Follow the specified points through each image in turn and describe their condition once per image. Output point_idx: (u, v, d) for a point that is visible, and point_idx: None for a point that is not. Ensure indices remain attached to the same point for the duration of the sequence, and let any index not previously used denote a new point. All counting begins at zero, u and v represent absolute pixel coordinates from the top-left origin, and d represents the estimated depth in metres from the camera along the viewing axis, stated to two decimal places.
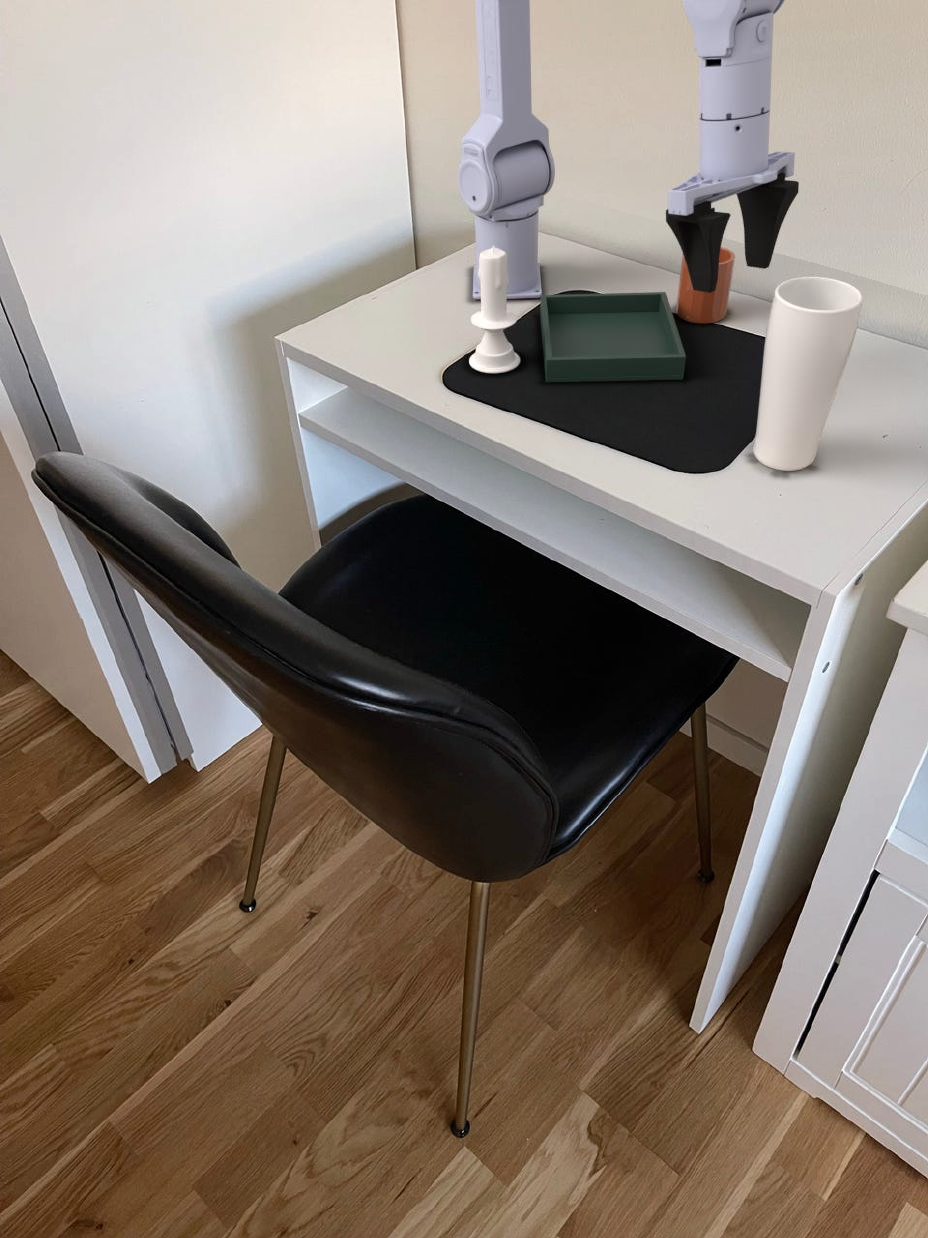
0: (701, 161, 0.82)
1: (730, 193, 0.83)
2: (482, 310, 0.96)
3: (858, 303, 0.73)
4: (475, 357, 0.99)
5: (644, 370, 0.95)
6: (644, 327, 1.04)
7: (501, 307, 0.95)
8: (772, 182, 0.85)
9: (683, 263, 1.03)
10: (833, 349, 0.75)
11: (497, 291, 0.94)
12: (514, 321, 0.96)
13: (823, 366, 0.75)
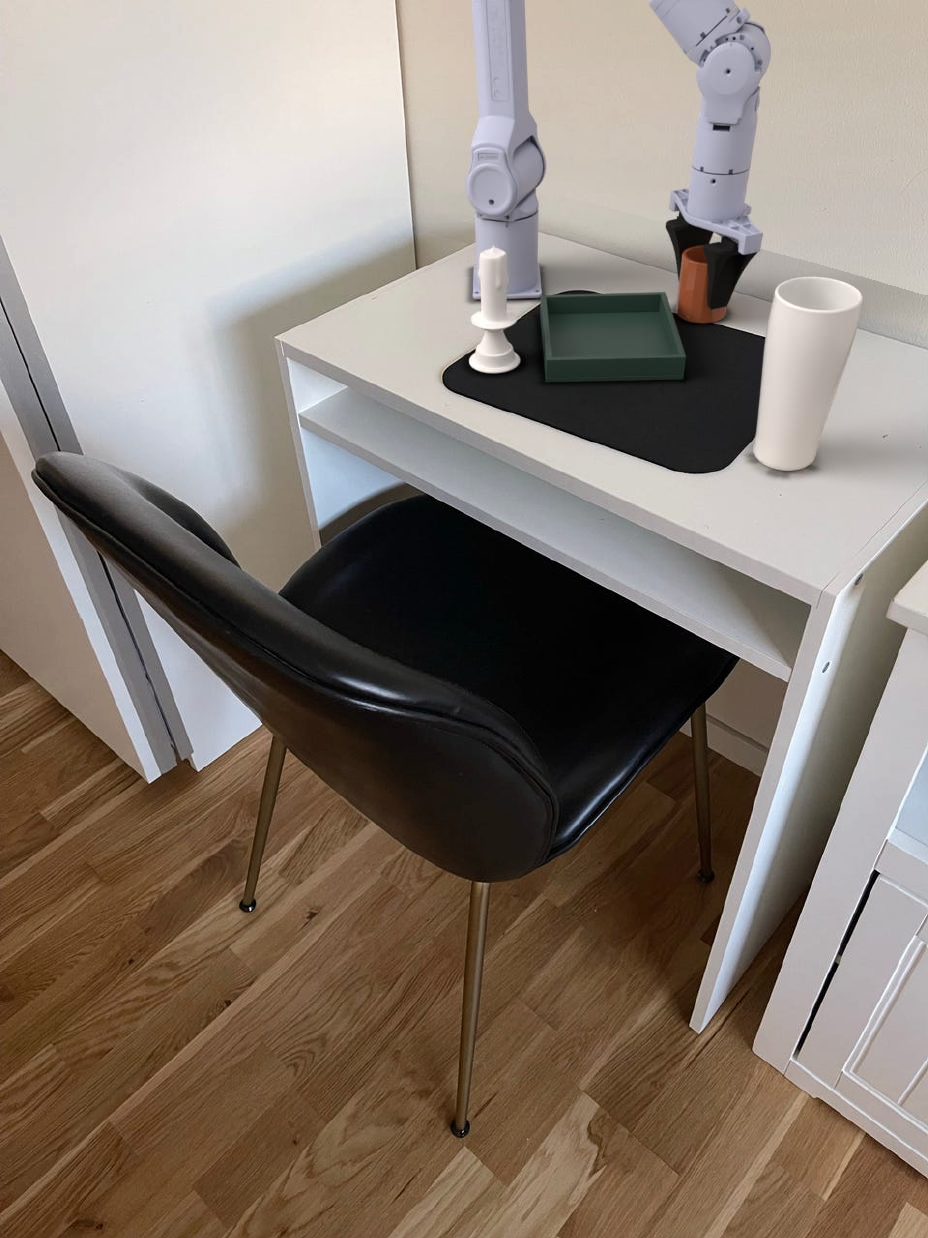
0: (717, 208, 0.97)
1: None
2: (482, 310, 0.96)
3: (858, 303, 0.73)
4: (475, 357, 0.99)
5: (644, 370, 0.95)
6: (644, 327, 1.04)
7: (501, 307, 0.95)
8: None
9: (683, 263, 1.03)
10: (833, 349, 0.75)
11: (497, 291, 0.94)
12: (514, 321, 0.96)
13: (823, 366, 0.75)
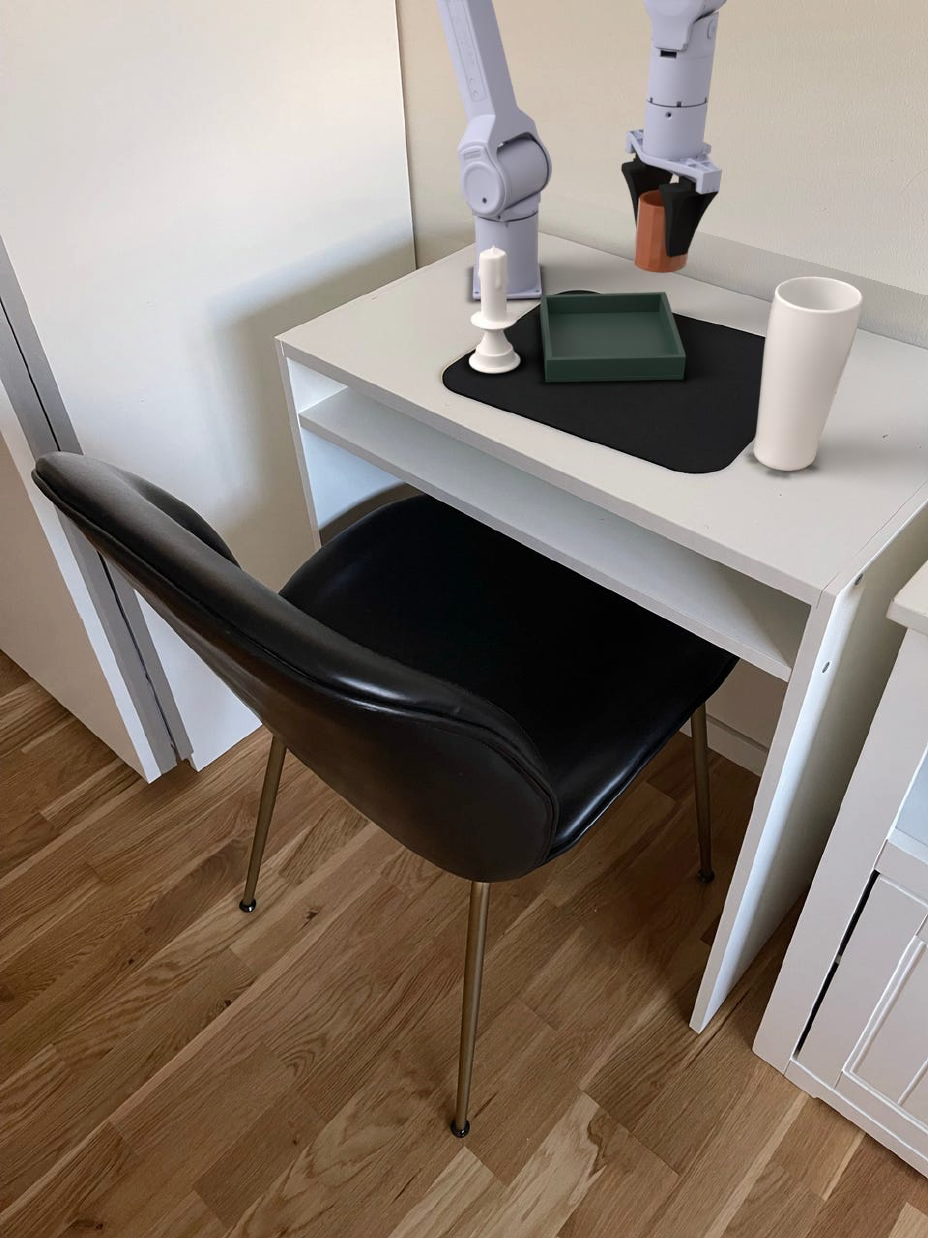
0: (673, 145, 0.90)
1: None
2: (482, 310, 0.96)
3: (858, 303, 0.73)
4: (475, 357, 0.99)
5: (644, 370, 0.95)
6: (644, 327, 1.04)
7: (501, 307, 0.95)
8: None
9: (639, 207, 0.96)
10: (833, 349, 0.75)
11: (497, 291, 0.94)
12: (514, 321, 0.96)
13: (823, 366, 0.75)
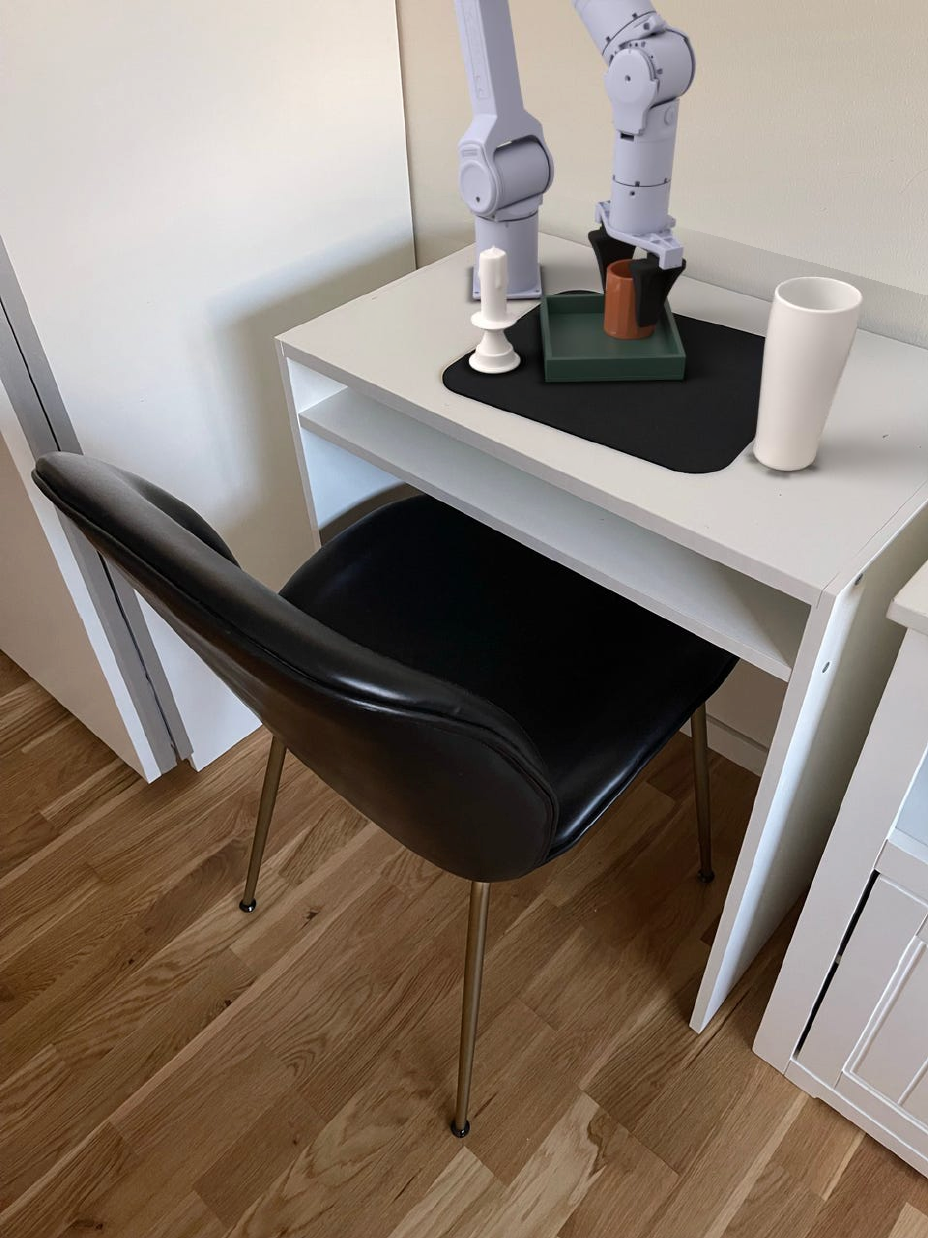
0: (637, 221, 0.93)
1: None
2: (482, 310, 0.96)
3: (858, 303, 0.73)
4: (475, 357, 0.99)
5: (644, 370, 0.95)
6: None
7: (501, 307, 0.95)
8: None
9: (607, 278, 0.99)
10: (833, 349, 0.75)
11: (497, 291, 0.94)
12: (514, 321, 0.96)
13: (823, 366, 0.75)
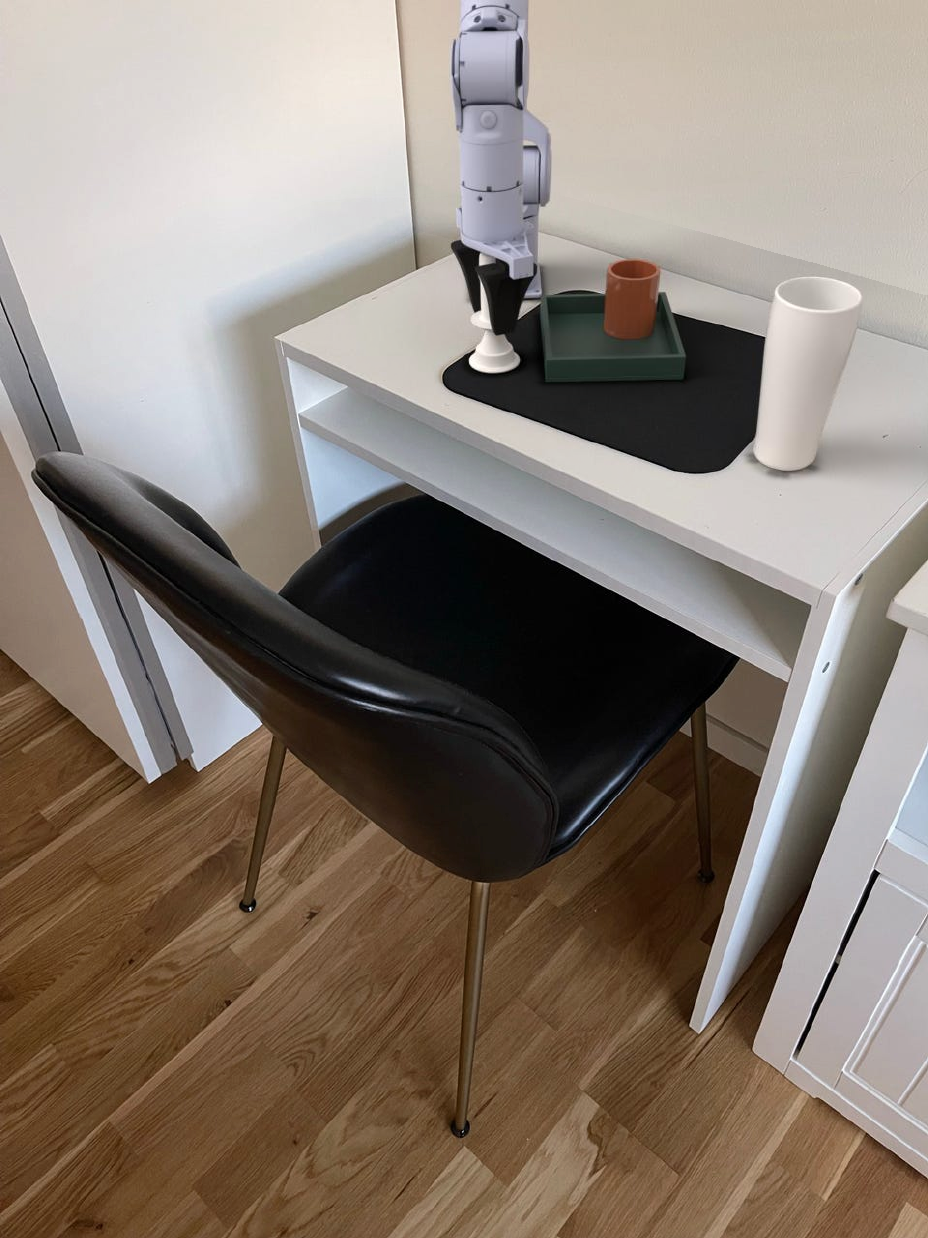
0: (488, 228, 0.88)
1: None
2: (482, 310, 0.96)
3: (858, 303, 0.73)
4: (475, 357, 0.99)
5: (644, 370, 0.95)
6: None
7: None
8: None
9: (607, 278, 0.99)
10: (833, 349, 0.75)
11: None
12: None
13: (823, 366, 0.75)
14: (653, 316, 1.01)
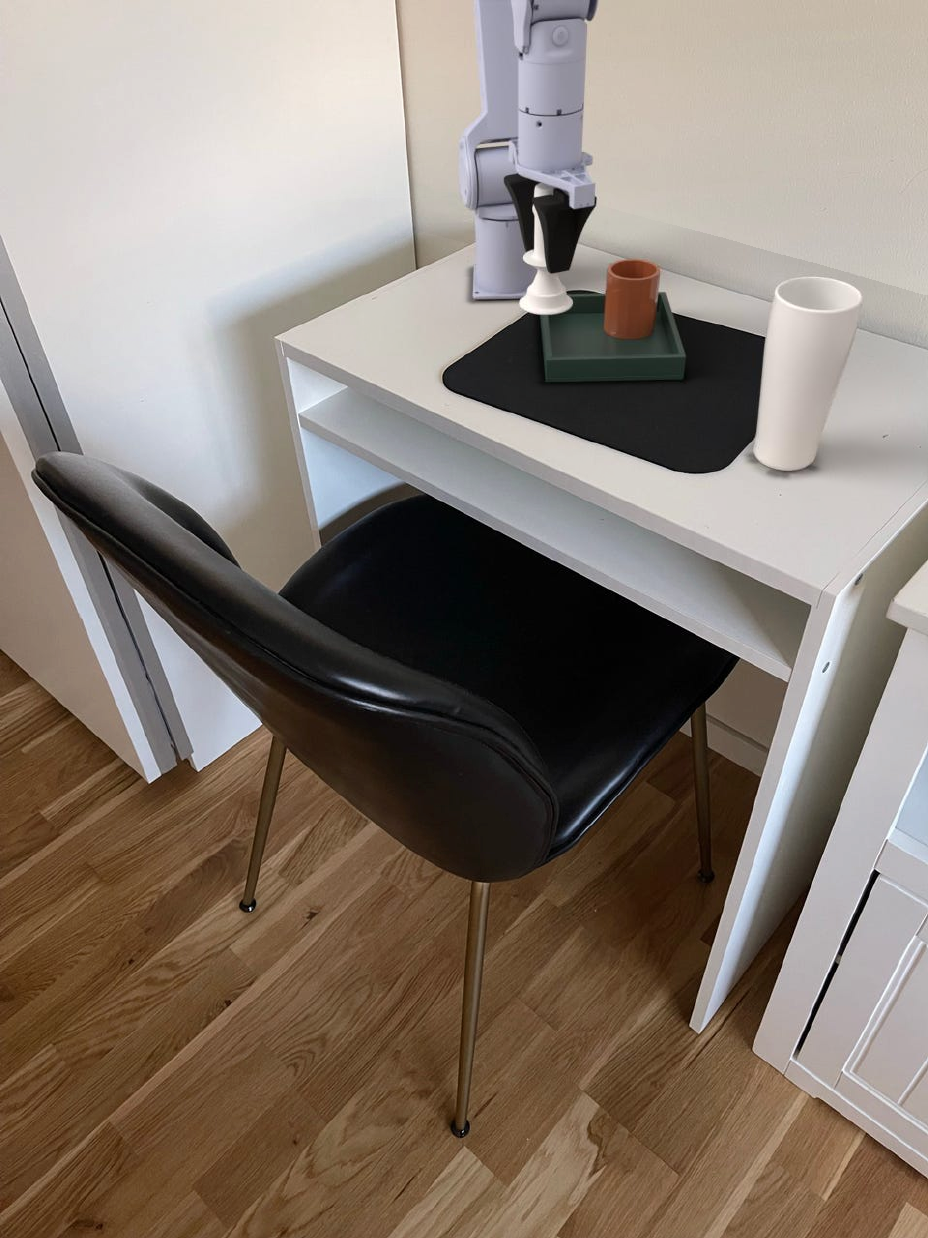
0: (546, 156, 0.84)
1: None
2: (535, 247, 0.92)
3: (858, 303, 0.73)
4: (526, 299, 0.95)
5: (644, 370, 0.95)
6: None
7: None
8: None
9: (607, 278, 0.99)
10: (833, 349, 0.75)
11: None
12: None
13: (823, 366, 0.75)
14: (653, 316, 1.01)
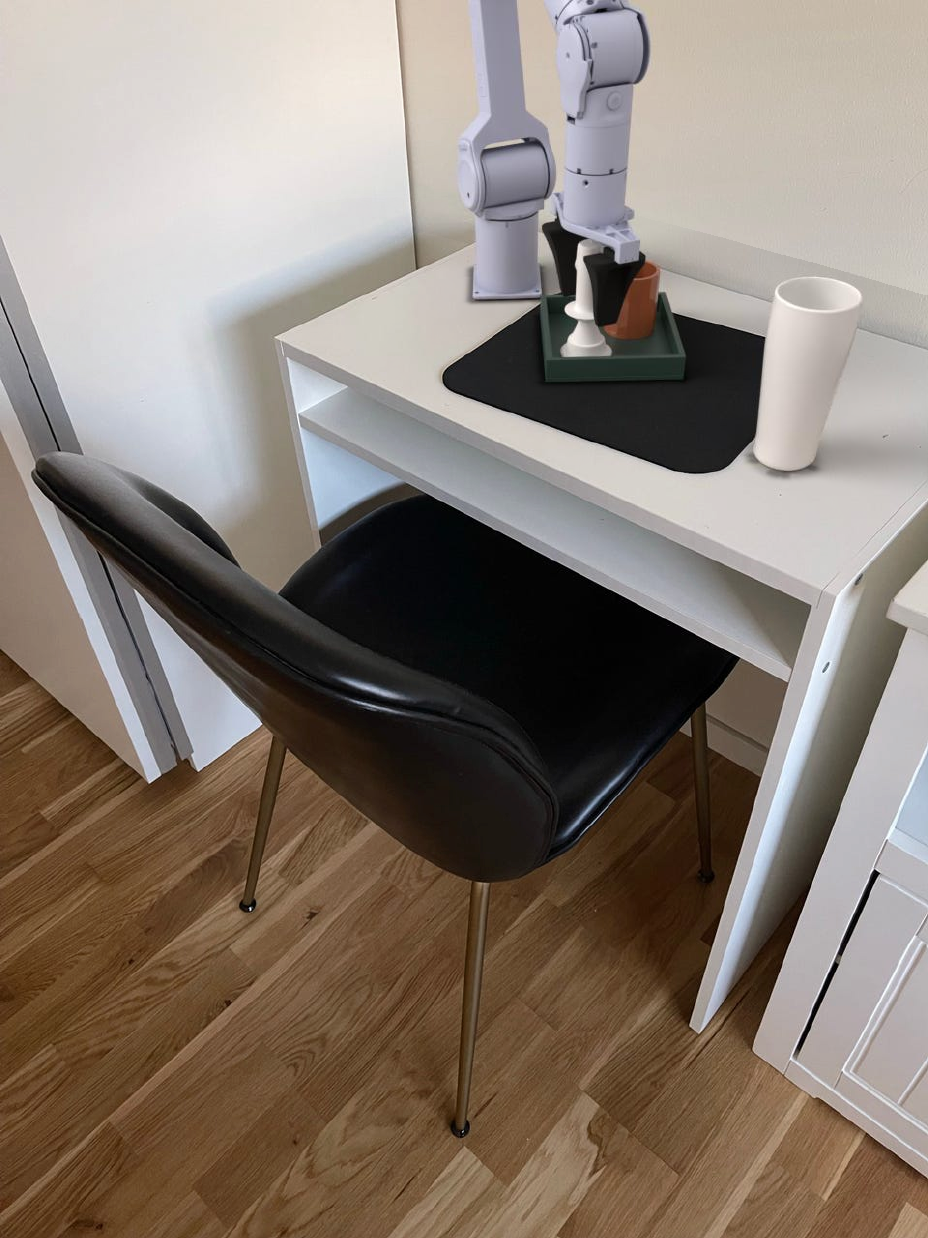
0: (592, 213, 0.87)
1: None
2: (577, 300, 0.95)
3: (858, 303, 0.73)
4: (567, 348, 0.99)
5: (644, 370, 0.95)
6: None
7: None
8: None
9: None
10: (833, 349, 0.75)
11: None
12: None
13: (823, 366, 0.75)
14: (653, 316, 1.01)
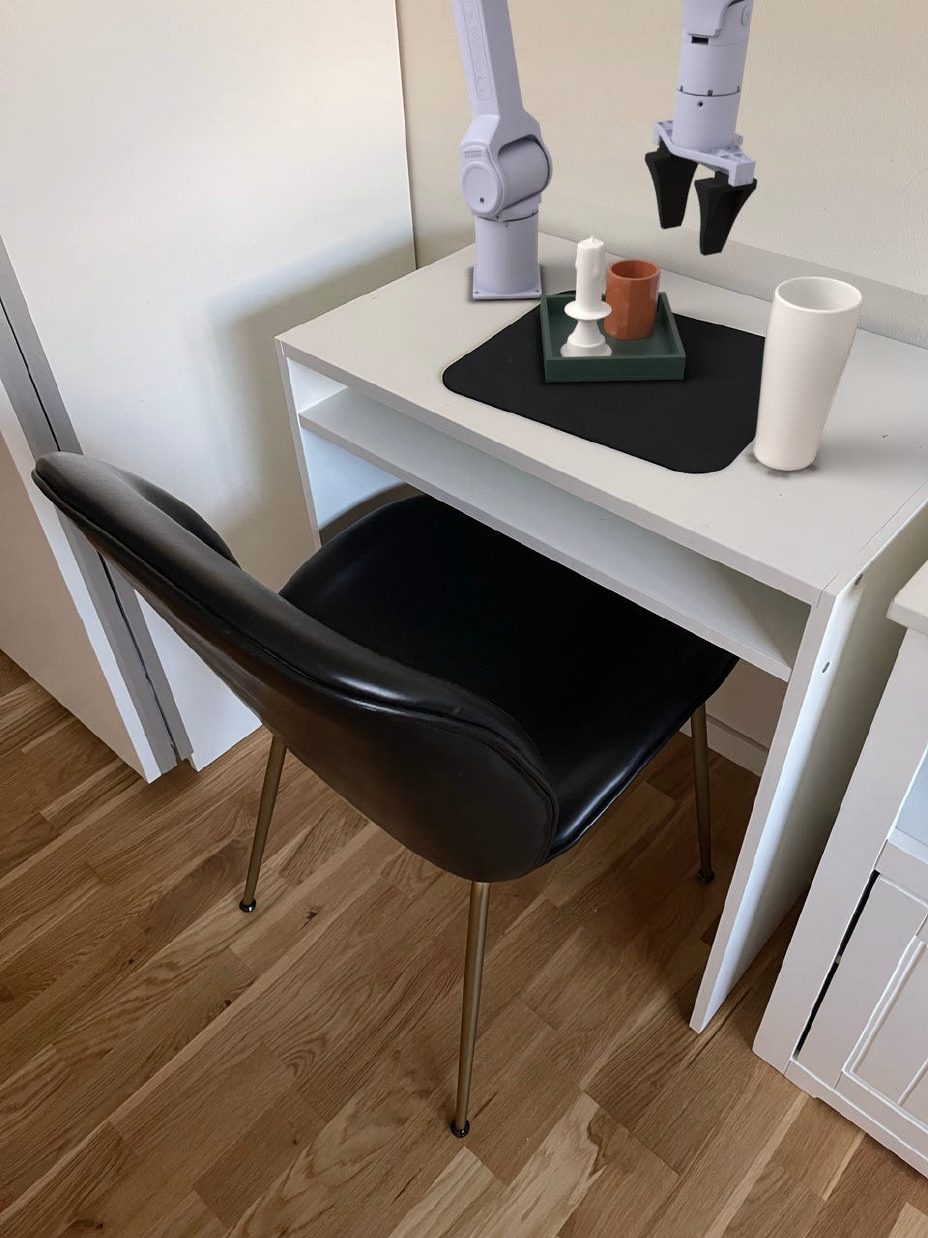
0: (704, 135, 0.87)
1: None
2: (577, 300, 0.95)
3: (858, 303, 0.73)
4: (567, 348, 0.99)
5: (644, 370, 0.95)
6: None
7: (597, 298, 0.95)
8: None
9: (607, 278, 0.99)
10: (833, 349, 0.75)
11: (594, 281, 0.93)
12: (609, 312, 0.96)
13: (823, 366, 0.75)
14: (653, 316, 1.01)
